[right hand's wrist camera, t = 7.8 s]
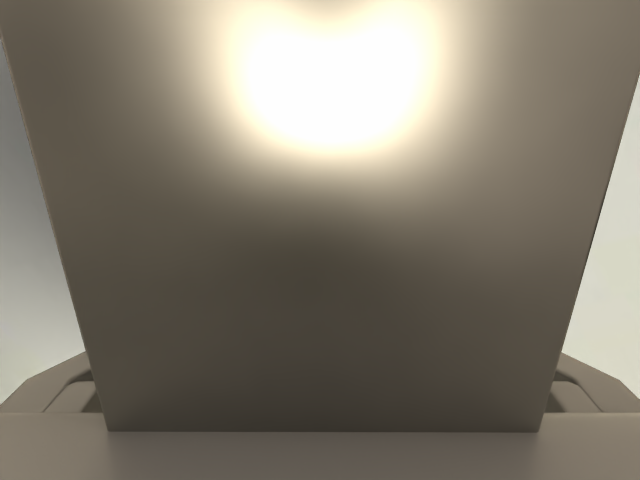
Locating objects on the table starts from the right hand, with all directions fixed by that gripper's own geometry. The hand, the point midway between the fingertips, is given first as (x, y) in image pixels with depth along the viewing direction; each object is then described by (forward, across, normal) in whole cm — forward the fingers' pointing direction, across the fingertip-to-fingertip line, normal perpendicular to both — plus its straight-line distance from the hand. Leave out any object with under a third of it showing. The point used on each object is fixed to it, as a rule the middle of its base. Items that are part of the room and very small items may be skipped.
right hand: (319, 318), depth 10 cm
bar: (+4, 0, -9) cm, 10 cm away
